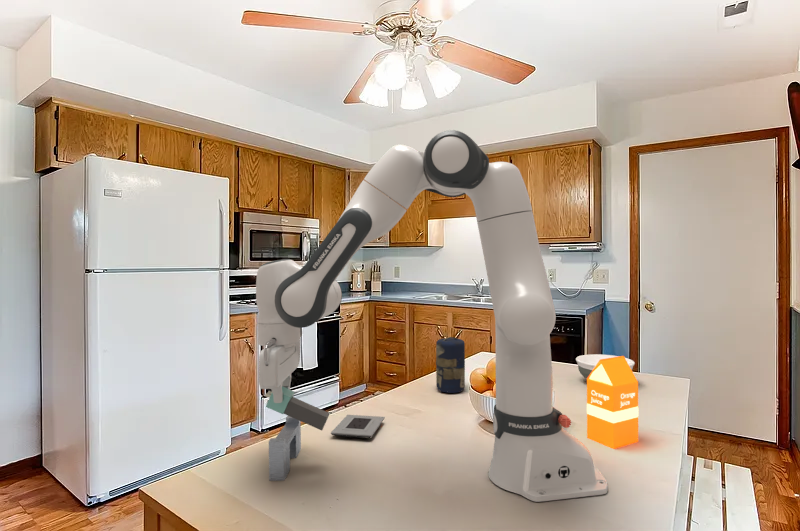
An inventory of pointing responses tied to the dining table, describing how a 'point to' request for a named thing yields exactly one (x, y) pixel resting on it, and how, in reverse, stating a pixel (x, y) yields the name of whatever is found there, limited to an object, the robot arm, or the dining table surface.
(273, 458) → the grey piece
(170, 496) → the dining table surface
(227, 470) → the dining table surface
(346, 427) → the electrical outlet
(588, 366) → the bowl
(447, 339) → the canister
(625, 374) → the orange juice
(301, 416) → the plug
